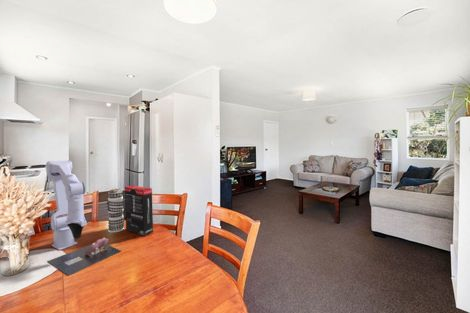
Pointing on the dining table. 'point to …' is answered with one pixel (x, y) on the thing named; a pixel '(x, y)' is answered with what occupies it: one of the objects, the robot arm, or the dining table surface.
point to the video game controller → (97, 246)
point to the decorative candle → (115, 210)
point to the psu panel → (81, 259)
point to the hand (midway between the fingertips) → (77, 238)
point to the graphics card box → (139, 209)
